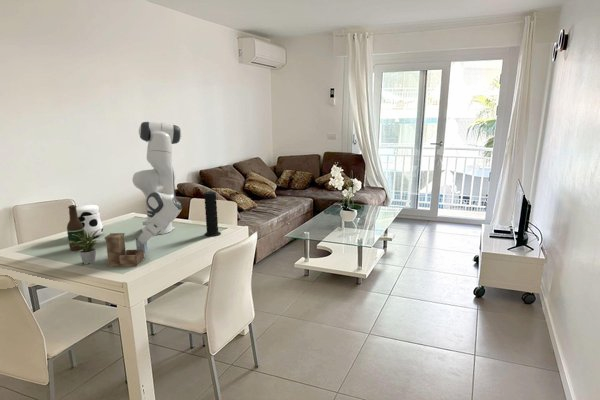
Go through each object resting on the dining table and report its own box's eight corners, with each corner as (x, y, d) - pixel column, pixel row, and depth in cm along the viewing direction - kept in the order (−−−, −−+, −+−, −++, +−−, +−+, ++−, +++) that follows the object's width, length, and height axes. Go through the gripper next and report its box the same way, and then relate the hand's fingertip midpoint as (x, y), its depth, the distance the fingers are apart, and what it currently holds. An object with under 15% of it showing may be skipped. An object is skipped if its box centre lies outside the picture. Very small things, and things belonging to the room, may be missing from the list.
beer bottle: (89, 247, 210) (83, 204, 205) (77, 251, 202) (71, 207, 198) (78, 245, 212) (73, 203, 207) (66, 250, 205) (60, 206, 200)
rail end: (147, 249, 204) (146, 235, 202) (144, 252, 200) (143, 237, 198) (139, 249, 204) (138, 235, 202) (137, 252, 200) (135, 237, 198)
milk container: (104, 231, 240) (100, 203, 236) (103, 238, 224) (99, 208, 221) (72, 235, 232) (68, 206, 229) (69, 243, 217) (65, 212, 213)
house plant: (93, 254, 197) (89, 224, 194) (112, 258, 192) (109, 226, 189) (67, 264, 184) (62, 231, 181) (87, 268, 179) (83, 234, 176)
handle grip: (218, 236, 225) (223, 232, 234) (215, 192, 219) (220, 189, 229) (201, 236, 226) (207, 231, 235) (198, 192, 220) (204, 189, 230)
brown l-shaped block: (144, 258, 191) (141, 231, 188) (137, 266, 181) (134, 237, 178) (115, 259, 190) (112, 232, 187) (106, 266, 180) (102, 238, 178)
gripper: (159, 215, 209) (142, 233, 211) (146, 225, 189) (128, 245, 191) (168, 223, 210) (151, 240, 212) (156, 234, 190) (138, 253, 192)
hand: (140, 243), depth 201 cm, fingers open, 8 cm apart
